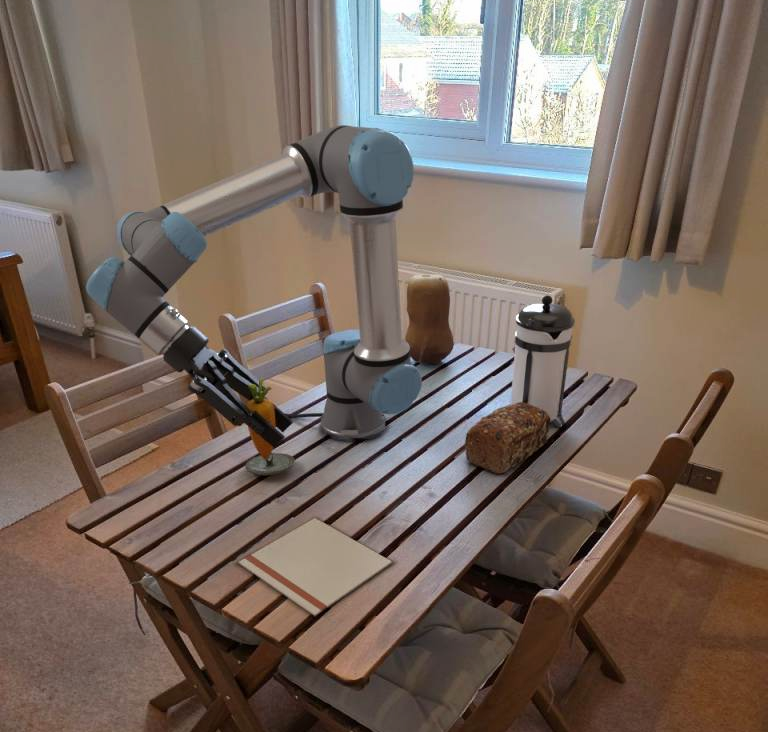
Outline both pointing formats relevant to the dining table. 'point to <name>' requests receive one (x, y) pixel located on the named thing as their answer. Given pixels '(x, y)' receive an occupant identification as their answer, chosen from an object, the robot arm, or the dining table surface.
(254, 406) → the carrot
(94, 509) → the dining table surface
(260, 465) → the lid
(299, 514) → the dining table surface
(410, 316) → the butternut squash
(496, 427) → the bread
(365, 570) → the napkin
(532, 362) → the coffee press
